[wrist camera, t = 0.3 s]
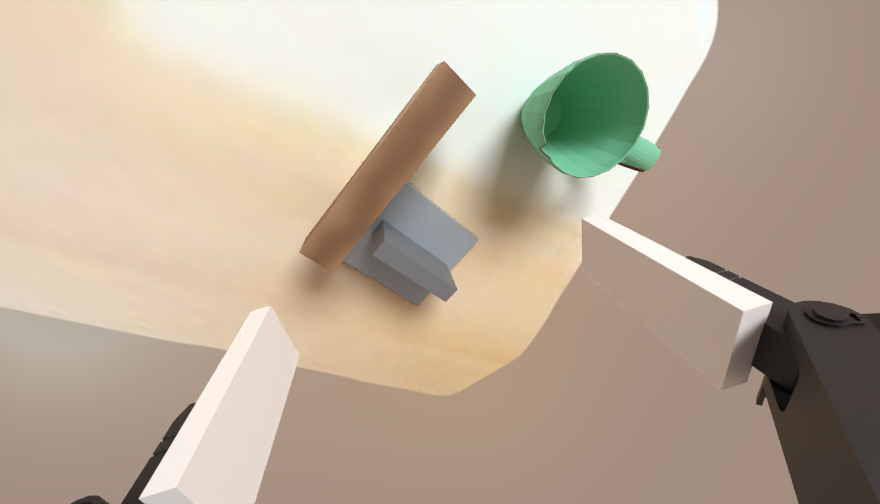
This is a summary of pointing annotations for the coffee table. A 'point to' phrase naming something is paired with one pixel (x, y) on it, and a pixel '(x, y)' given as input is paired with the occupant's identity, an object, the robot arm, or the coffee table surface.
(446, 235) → the fulcrum
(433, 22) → the coffee table surface
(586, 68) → the mug
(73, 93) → the coffee table surface
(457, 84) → the plank
